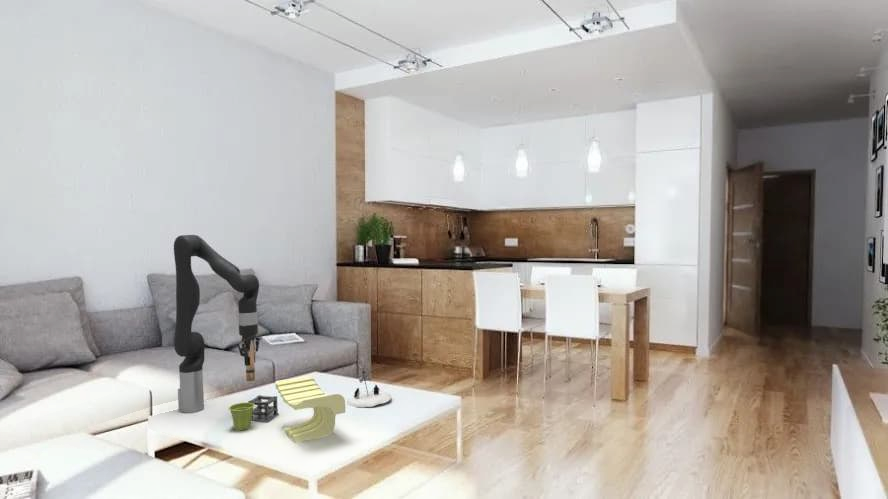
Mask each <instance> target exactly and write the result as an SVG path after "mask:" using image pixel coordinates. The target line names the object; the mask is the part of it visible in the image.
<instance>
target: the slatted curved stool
mask: <svg viewBox="0 0 888 499" xmlns="http://www.w3.org/2000/svg"><path fill="white" fill-rule="evenodd" d="M275 389H276V390H277V393H278V394H280V397H281V398H282V401H283V402H284V403H285V404H287V405H288V406H289V407H291V408H292V409H293V410H295V411H297V410H303V409H311V408H312V409H313V416H312V417H311V418H310V419H309V420H306V421H304V422H302V423H299V424H296V425H292V426H288V427H284V430H283V433H284V434H285V435H286V436H288V437H289V438H290V439H291V440H292V441H294V443H301V441H302V442H305V441H309V440H313V439H317V438H322V437H326V436H330V435H331V434H332V433H333V432H334V430H335V427H336V416H337V415H340V414H341V415H342V414H345V413H346V399H345V398H344V396H343V395H342V394H340V393H335V394H329V395H328V394H326V393H325V392H324V391H322V389H321V387H320V386H319V385H318V382H316V380H315V379H314V378H312V376H310V375H304V376H299V377H292V378H287V379H282V380H281V379H280V380H276V381H275Z"/></svg>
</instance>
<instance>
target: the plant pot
mask: <svg viewBox="0 0 888 499" xmlns="http://www.w3.org/2000/svg"><path fill="white" fill-rule="evenodd" d="M254 408H255V405H254V404H253V403H248V402H238V403H234V404H231V405H230V406H229V407H228V410H229V411H230V414H231V417H232V423H233V428H234V430H235V431H238V430H239V431H241V430H242V431H246V430H248V429H251V427H252V422H251V420H252V411H253V409H254Z"/></svg>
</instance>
